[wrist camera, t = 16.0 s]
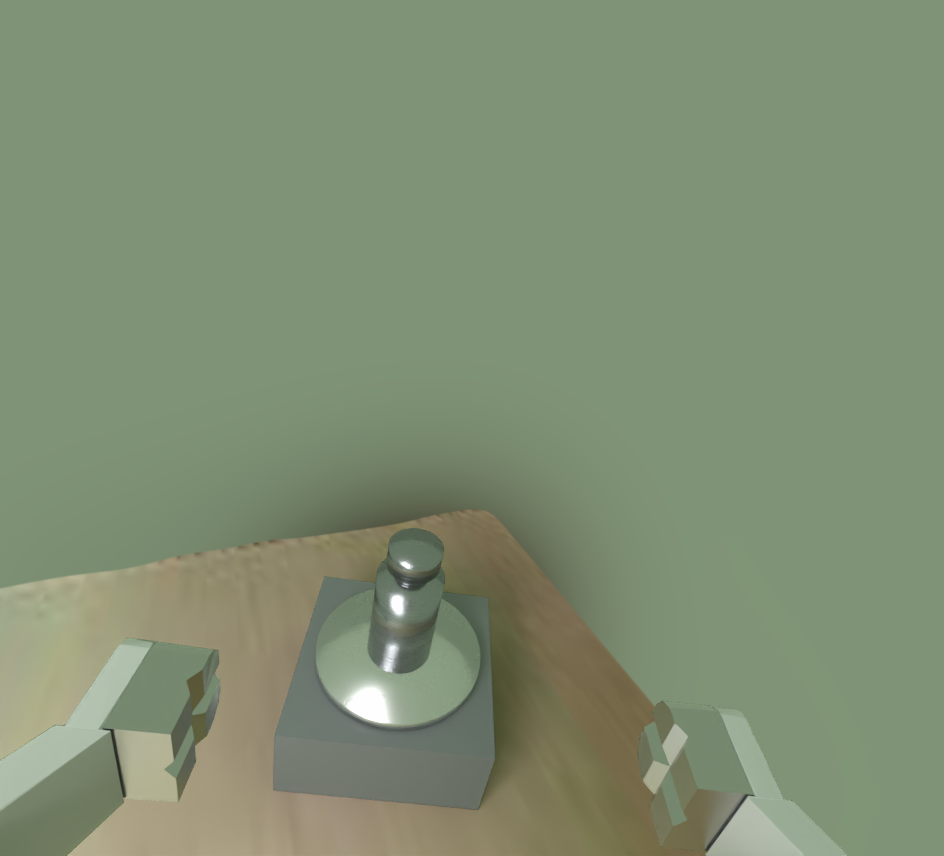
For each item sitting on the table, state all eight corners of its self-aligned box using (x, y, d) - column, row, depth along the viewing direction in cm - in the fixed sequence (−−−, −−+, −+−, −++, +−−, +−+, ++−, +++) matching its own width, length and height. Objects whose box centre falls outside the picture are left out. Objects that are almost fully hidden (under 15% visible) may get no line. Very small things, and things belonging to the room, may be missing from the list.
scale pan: (295, 720, 36) (295, 713, 36) (334, 585, 47) (334, 578, 46) (480, 740, 37) (482, 733, 37) (477, 603, 48) (479, 596, 47)
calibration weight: (362, 669, 39) (376, 565, 35) (372, 618, 43) (385, 519, 39) (428, 677, 40) (450, 575, 35) (431, 625, 44) (451, 528, 39)
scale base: (272, 790, 38) (274, 735, 35) (321, 621, 51) (326, 571, 48) (478, 809, 39) (495, 758, 37) (475, 640, 52) (488, 592, 49)
